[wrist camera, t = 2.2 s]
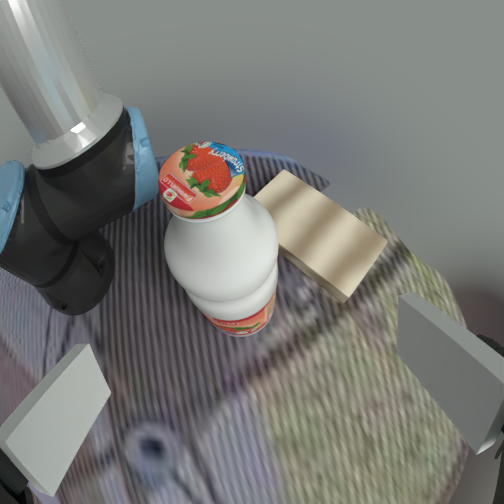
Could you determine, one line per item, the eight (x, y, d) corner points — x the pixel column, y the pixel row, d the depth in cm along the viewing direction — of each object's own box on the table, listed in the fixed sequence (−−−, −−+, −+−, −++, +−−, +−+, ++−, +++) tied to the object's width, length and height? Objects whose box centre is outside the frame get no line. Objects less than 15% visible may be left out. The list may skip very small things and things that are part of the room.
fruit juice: (288, 302, 41) (322, 164, 15) (241, 352, 38) (192, 290, 13) (239, 260, 44) (206, 99, 18) (193, 306, 41) (93, 184, 16)
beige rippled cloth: (239, 222, 46) (237, 212, 44) (283, 180, 49) (283, 169, 47) (343, 303, 40) (348, 297, 37) (381, 249, 43) (387, 241, 41)
